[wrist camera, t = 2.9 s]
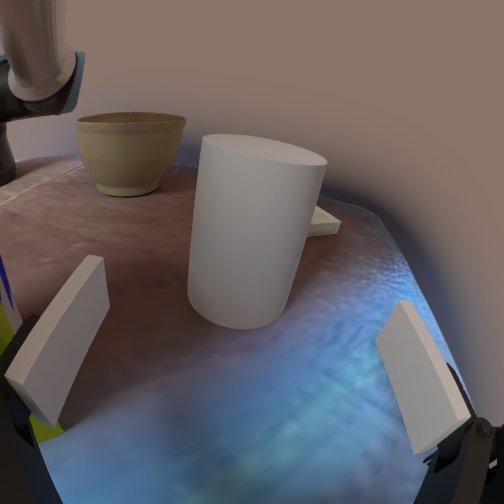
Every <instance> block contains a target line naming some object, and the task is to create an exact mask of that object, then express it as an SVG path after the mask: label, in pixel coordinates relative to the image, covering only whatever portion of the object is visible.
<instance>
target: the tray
mask: <svg viewBox="0 0 504 504" xmlns="http://www.w3.org/2000/svg"><path fill="white" fill-rule="evenodd" d="M340 224H341V221H339V220H338V219H336V218H335V217H333V216H332V215H330V214H328V213H327V212H325V211H324V210H322V209H321V208H319V207H318V206H315V210H314V213H313V217H312V220H311V224H310V227H309V231H308V234H307V237H314V236H322V235H330V234H337V233H338V230H339V227H340Z"/></svg>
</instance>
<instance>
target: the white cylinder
mask: <svg viewBox="0 0 504 504" xmlns="http://www.w3.org/2000/svg"><path fill="white" fill-rule="evenodd" d="M326 165H327V161H326V159H324V158H323V157H322V156H320V155H318V154H316V153H314V152H311V151H309V150H306V149H303V148H300V147H297V146H294V145H291V144H287V143H283V142H279V141H275V140H270V139H265V138H259V137H253V136H246V135H234V134H212V135H207V136H205V137H203V139H202V146H201V153H200V161H199V169H198V177H197V185H196V194H195V203H194V213H193V223H192V234H191V246H190V258H189V272H188V288H187V295H188V299H189V302H190V303H191V305H192V307H193V308H194V309H195V310H196V311H197V312H198V313H199V314H200V315H201V316H202V317H204V318H205V319H207V320H209V321H211V322H213V323H215V324H217V325H220V326H223V327H227V328H232V329H240V330H249V329H257V328H261V327H265V326H267V325H269V324H271V323H273V322H275V321H276V320H277V319H278V318H279V317H280V316H281V315H282V313H283V311H284V309H285V306H286V302H287V299H288V296H289V293H290V290H291V287H292V284H293V281H294V277H295V274H296V271H297V268H298V264H299V261H300V258H301V255H302V251H303V248H304V244H305V241H306V238H307V234H308V231H309V227H310V224H311V220H312V217H313V213H314V210H315V206H316V203H317V199H318V195H319V192H320V188H321V184H322V181H323V177H324V173H325V169H326Z"/></svg>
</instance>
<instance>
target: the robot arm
mask: <svg viewBox="0 0 504 504" xmlns="http://www.w3.org/2000/svg"><path fill="white" fill-rule="evenodd" d="M66 4H67V0H0V42H1V45H2V47H3V50H4V52H5V54H0V186H1V185H3V184H4V183H6V182H8V181H10V180H11V179H12V178H13V177H14V176H15V175H16V163H15V160H14V157H13V154H12V151H11V148H10V145H9V142H8V139H7V135H6V123H7V122H10V121H15V120H20V119H27V118H34V117H41V116H49V115H61V114H64V113H69V112H72V111H73V110H74V109H75V108H76V105H77V102H78V97H79V90H80V87H81V81H82V75H83V69H84V62H85V54H84V52H82V51H77V50H75V51H74V49H73V47H72V46H71V45H70V43H69V42H67V41H66ZM109 308H110V303H109V297H108V290H107V283H106V276H105V268H104V259H103V257H99V256H94V255H87V256H86V258H85V259H84V260H83V261H82V263H81V264H80V265H79V266H78V267H77V269H76V270H75V271H74V273H73V274H72V275H71V276H70V278H69V279H68V280H67V282H66V283H65V284H64V285H63V287H62V288H61V289H60V291H59V292H58V293H57V295H56V296H55V298H54V299H53V300H52V302H51V303H50V304H49V306H48V307H47V309H46V310H45V312H44V313H43V314H42V316H41V317H40V316H37V315H34V314H33V315H32V316H30V317H29V318H28V319H26V320H25V321H24V322H23V323H22V324H21V326H20V327H19V329H18V330H17V333H16V334H15V335H14V336H13V338H12V339H11V342H9V344H8V345H7V347H6V348H5V350H4V352H3V353H2V355H1V356H0V504H63V502H62V501H61V498H60V496H59V494H58V492H57V490H56V488H55V486H54V484H53V481H52V479H51V477H50V475H49V472H48V470H47V467H46V465H45V462H44V460H43V457H42V454H41V452H40V449H39V446H38V443H37V440H36V437H35V434H34V431H33V428H32V424H31V422H30V420H29V417H30V415H31V413H32V414H33V415H34V416H35V418H36V419H37V420H38V421H41V422H43V423H45V424H47V425H49V426H52V427H54V428H55V426H56V423H57V420H58V418H59V415H60V413H61V410H62V408H63V405H64V403H65V400H66V398H67V396H68V393H69V391H70V389H71V386H72V384H73V382H74V379H75V377H76V375H77V373H78V370H79V368H80V366H81V364H82V362H83V360H84V358H85V355H86V353H87V351H88V349H89V347H90V345H91V343H92V341H93V339H94V337H95V335H96V333H97V331H98V329H99V327H100V325H101V323H102V321H103V319H104V317H105V316H106V314H107V312H108V310H109ZM375 343H376V345H377V348H378V350H379V353H380V355H381V358H382V361H383V363H384V366H385V369H386V371H387V374H388V377H389V379H390V382H391V385H392V388H393V391H394V394H395V396H396V399H397V402H398V405H399V408H400V411H401V414H402V417H403V421H404V424H405V427H406V430H407V433H408V437H409V440H410V443H411V447H412V450H413V454H414V455H417V454H421V453H424V452H428V451H429V450H431V449H432V448H433V447H435V446H436V445H437V447H438V450H437V451H435V452H434V453H432V454H431V455H430V456H428V457H427V458H425V459H424V461H423V463H426V462H427V461H429V460H430V459H432V460H431V461H430V462H429V463H428V464H427V465H428V466H429V468H428V471H427V473H426V476H425V478H424V481H423V483H422V486H421V488H420V490H419V493H418V495H417V497H416V499H415V501H414V503H413V504H504V424H503V425H502V426H501V427H493V426H491V424H490V423H489V422H488V421H487V420H486V419H485V418H481V417H480V418H477V416H476V414H475V412H474V410H473V407H472V405H471V403H470V401H469V399H468V396H467V394H466V392H465V390H463V386H462V384H461V383H460V380H459V378H458V376H457V374H456V372H455V370H454V369H453V368H452V367H451V366H450V365H449V364H448V363H446V362H445V360H444V358H443V357H442V355H441V353H440V351H439V349H438V347H437V345H436V343H435V342H434V340H433V338H432V336H431V334H430V333H429V331H428V329H427V327H426V326H425V324H424V322H423V320H422V319H421V317H420V315H419V314H418V312H417V310H416V309H415V307H414V305H413V304H412V302H411V301H407V300H398V302H397V304H396V305H395V307H394V309H393V311H392V313H391V314H390V316H389V318H388V320H387V321H386V323H385V325H384V327H383V328H382V330H381V332H380V333H379V335H378V337H377V338H376V340H375ZM496 459H497V465H496V466H494V467H492V468H491V469H490V468H489V464H490V463H491V462H493V461H494V460H496Z"/></svg>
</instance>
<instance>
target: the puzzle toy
mask: <svg viewBox="0 0 504 504" xmlns="http://www.w3.org/2000/svg"><path fill="white" fill-rule="evenodd" d="M22 323H23V321H22V318H21V315H20V313H19V310H18V308H17V305H16V302H15V300H14V297H13V294H12V291H11V288H10V285H9V282H8V279H7V276H6V273H5V269H4V266H3V262H2V259H1V255H0V356H1V355H2V353H3V352H4V350H5V348H6V347H7V345H8V344H9V342H11V339H12V338H13V336H14V335H15V334H16V333H17V330H18V329H19V327H20V326H21V324H22ZM29 420H30V422H31V424H32V428H33V431H34V434H35V437H36V440H37V443H40V442H43V441H45V440H48V439H50V438H53V437H55V436H58V435H60V434H62V433H64V432H63V430H62V428H61V426H60V423H59V421H58V420H57V423H56V426H55V428H54V427H52V426H49V425H47V424H45V423H43V422H41V421H38V420H37V419H36V418H35V416H34V415H33V414H32V413H31V415H30V417H29Z"/></svg>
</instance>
